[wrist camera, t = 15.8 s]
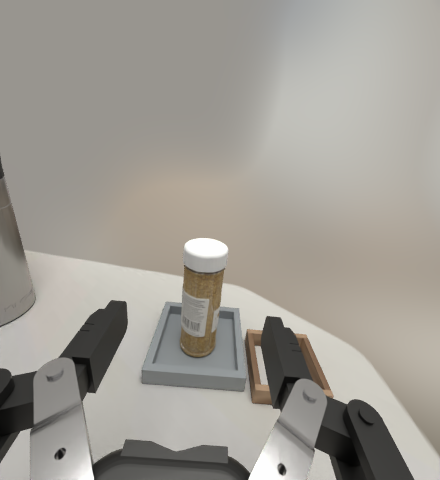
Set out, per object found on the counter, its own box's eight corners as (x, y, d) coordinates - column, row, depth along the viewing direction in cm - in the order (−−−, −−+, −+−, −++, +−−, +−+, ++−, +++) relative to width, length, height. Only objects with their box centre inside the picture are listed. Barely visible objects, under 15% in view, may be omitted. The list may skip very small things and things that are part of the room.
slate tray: (142, 383, 23) (141, 369, 22) (165, 312, 33) (166, 301, 32) (243, 391, 23) (246, 378, 23) (237, 319, 33) (238, 308, 32)
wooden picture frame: (252, 403, 22) (255, 390, 22) (244, 340, 30) (247, 329, 29) (327, 408, 23) (333, 396, 22) (302, 345, 30) (306, 334, 29)
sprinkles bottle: (222, 346, 28) (238, 249, 23) (193, 366, 25) (202, 260, 20) (200, 323, 31) (209, 233, 26) (171, 339, 28) (175, 241, 23)
